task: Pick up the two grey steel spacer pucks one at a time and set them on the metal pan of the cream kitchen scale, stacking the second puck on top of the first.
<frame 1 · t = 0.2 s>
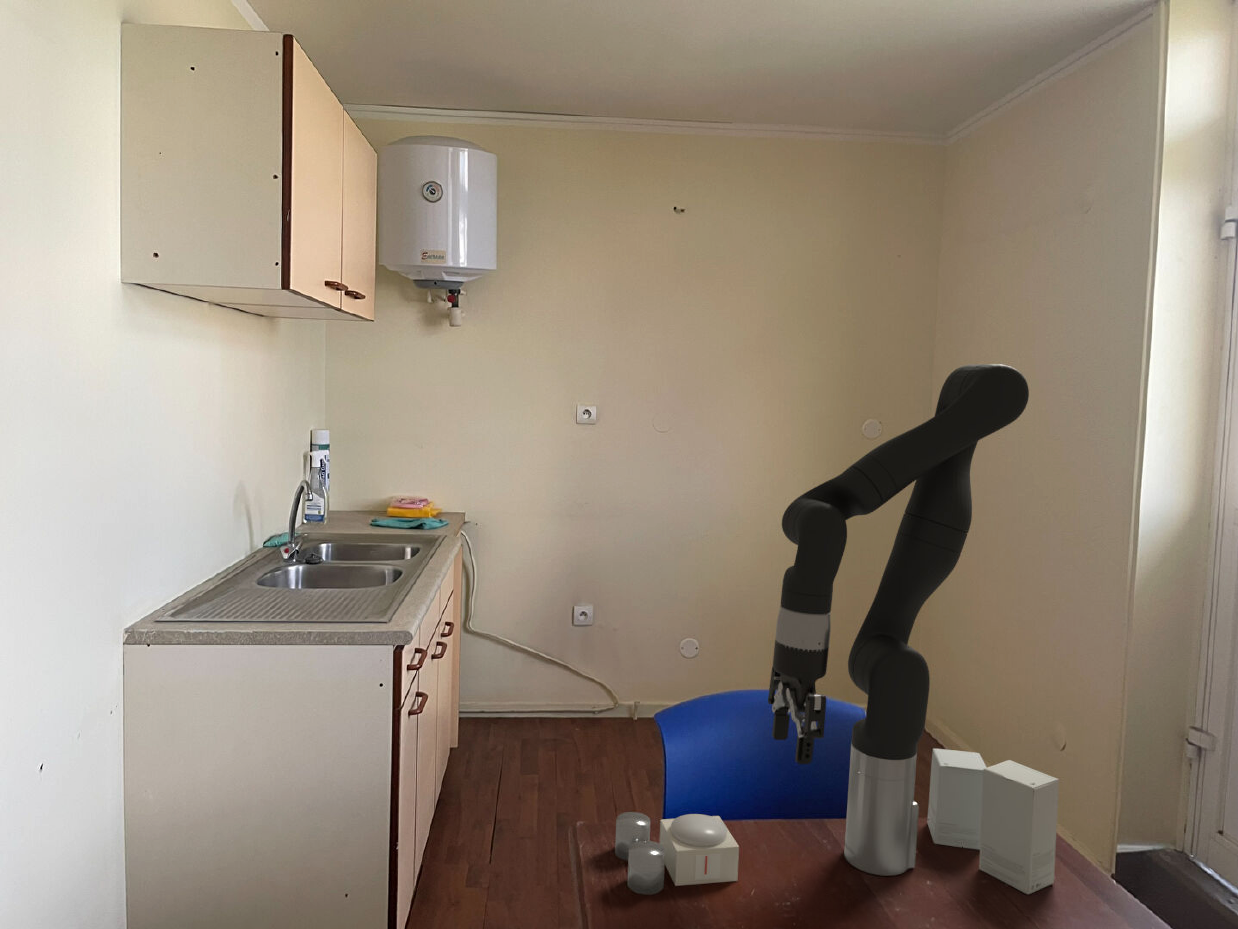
hand: (790, 750, 128), 17 cm above the table, tool pointing down, fingers open, 8 cm apart
steel spacer 2: (645, 884, 123), on the table
supplement box: (954, 837, 140), on the table
skincare box: (1013, 878, 129), on the table
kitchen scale: (697, 866, 128), on the table
steel spacer 1: (632, 852, 131), on the table
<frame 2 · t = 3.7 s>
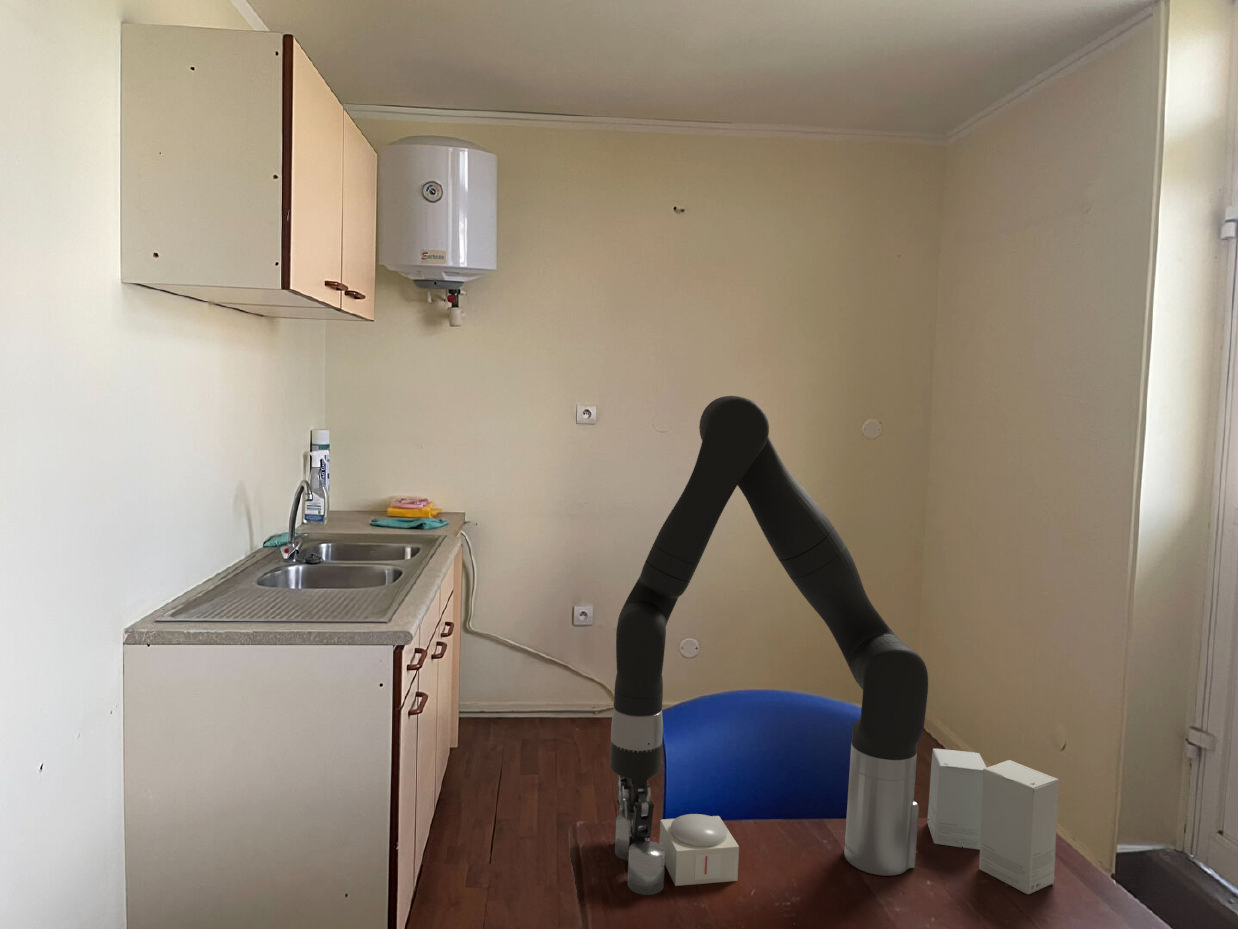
hand: (631, 849, 131), 0 cm above the table, tool pointing down, fingers closed on steel spacer 1, 5 cm apart
steel spacer 1: (631, 852, 131), on the table, touching gripper
everything else where it was.
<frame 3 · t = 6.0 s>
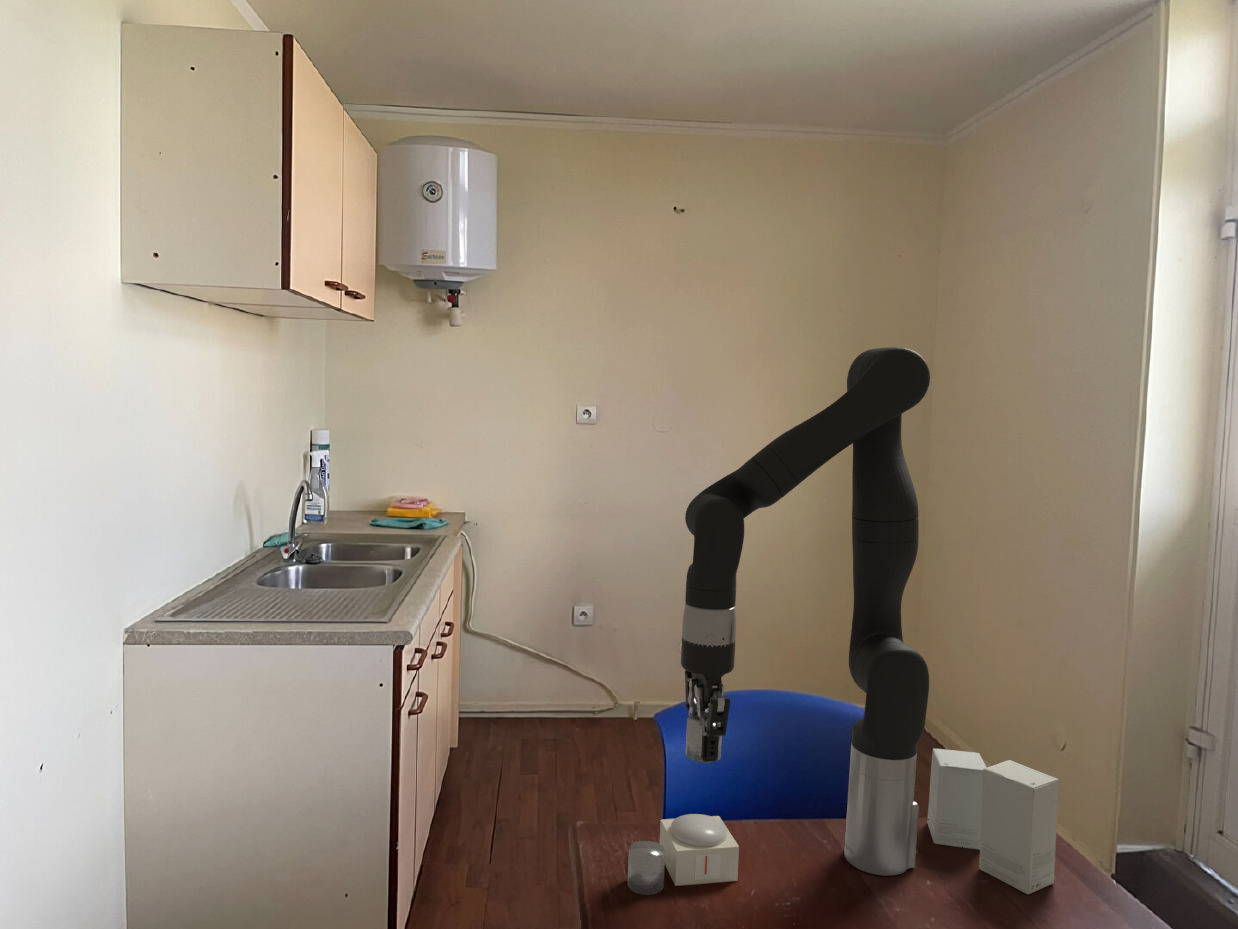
hand: (703, 751, 127), 17 cm above the table, tool pointing down, fingers closed on steel spacer 1, 5 cm apart
steel spacer 1: (703, 755, 127), point 17 cm above the table, touching gripper
everything else where it was.
when the fingers open (7 cm above the table, at t = 8.6 s): steel spacer 1 drops 1 cm, resting on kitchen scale.
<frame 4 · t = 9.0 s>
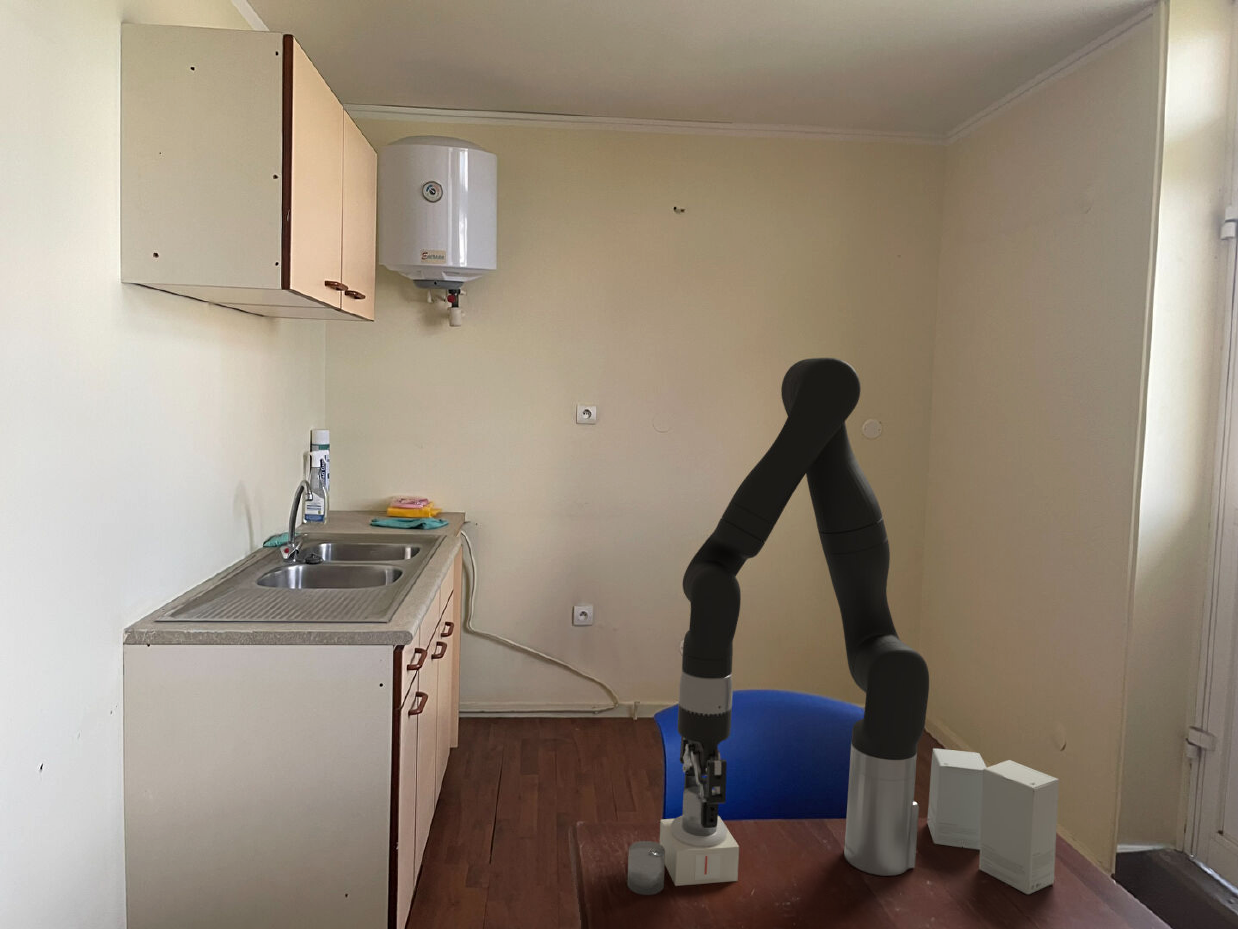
hand: (699, 812, 128), 8 cm above the table, tool pointing down, fingers open, 8 cm apart
steel spacer 1: (699, 827, 128), point 6 cm above the table, touching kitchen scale
everything else where it was.
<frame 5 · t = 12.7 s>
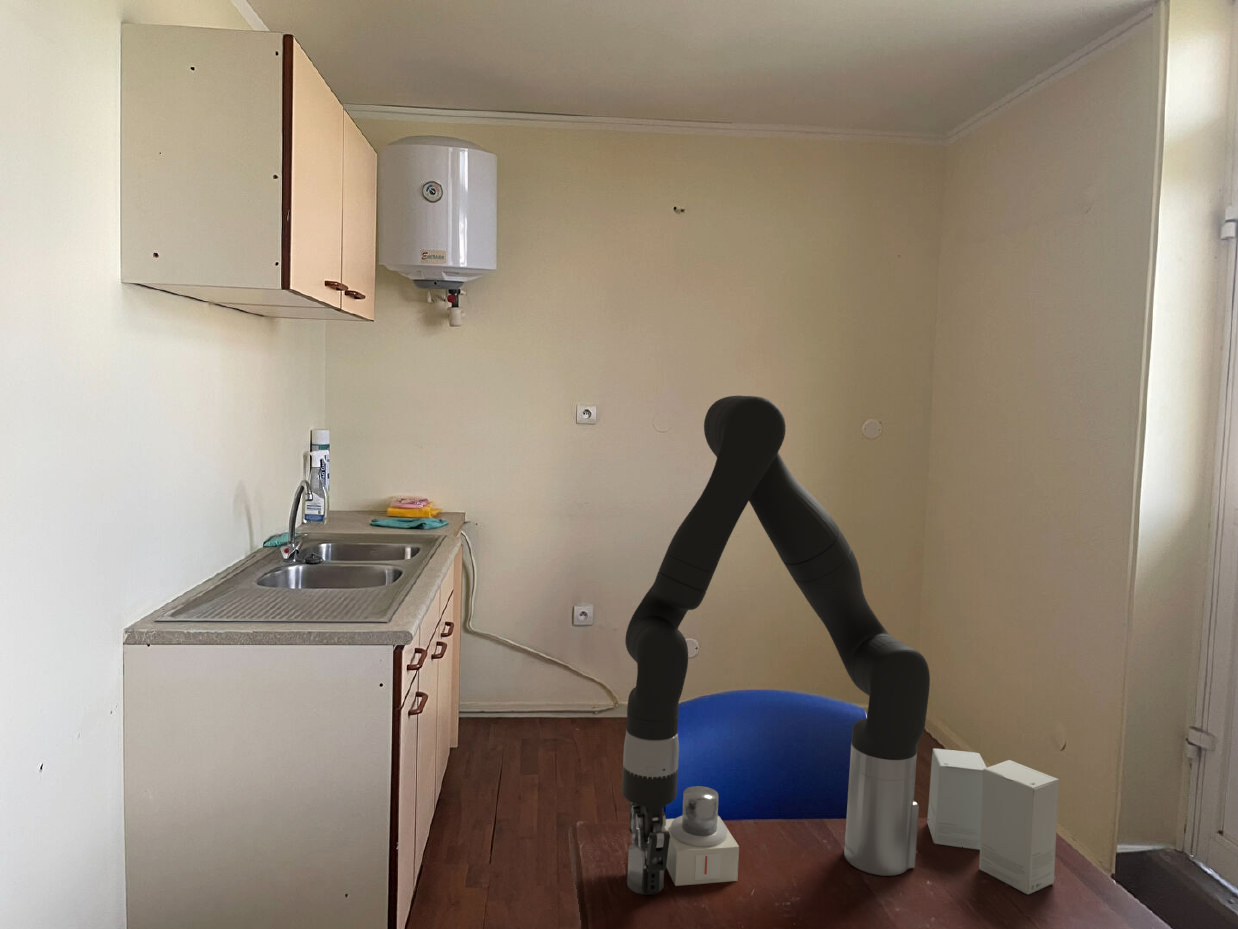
hand: (645, 881, 123), 0 cm above the table, tool pointing down, fingers closed on steel spacer 2, 5 cm apart
steel spacer 2: (645, 884, 123), on the table, touching gripper
everything else where it was.
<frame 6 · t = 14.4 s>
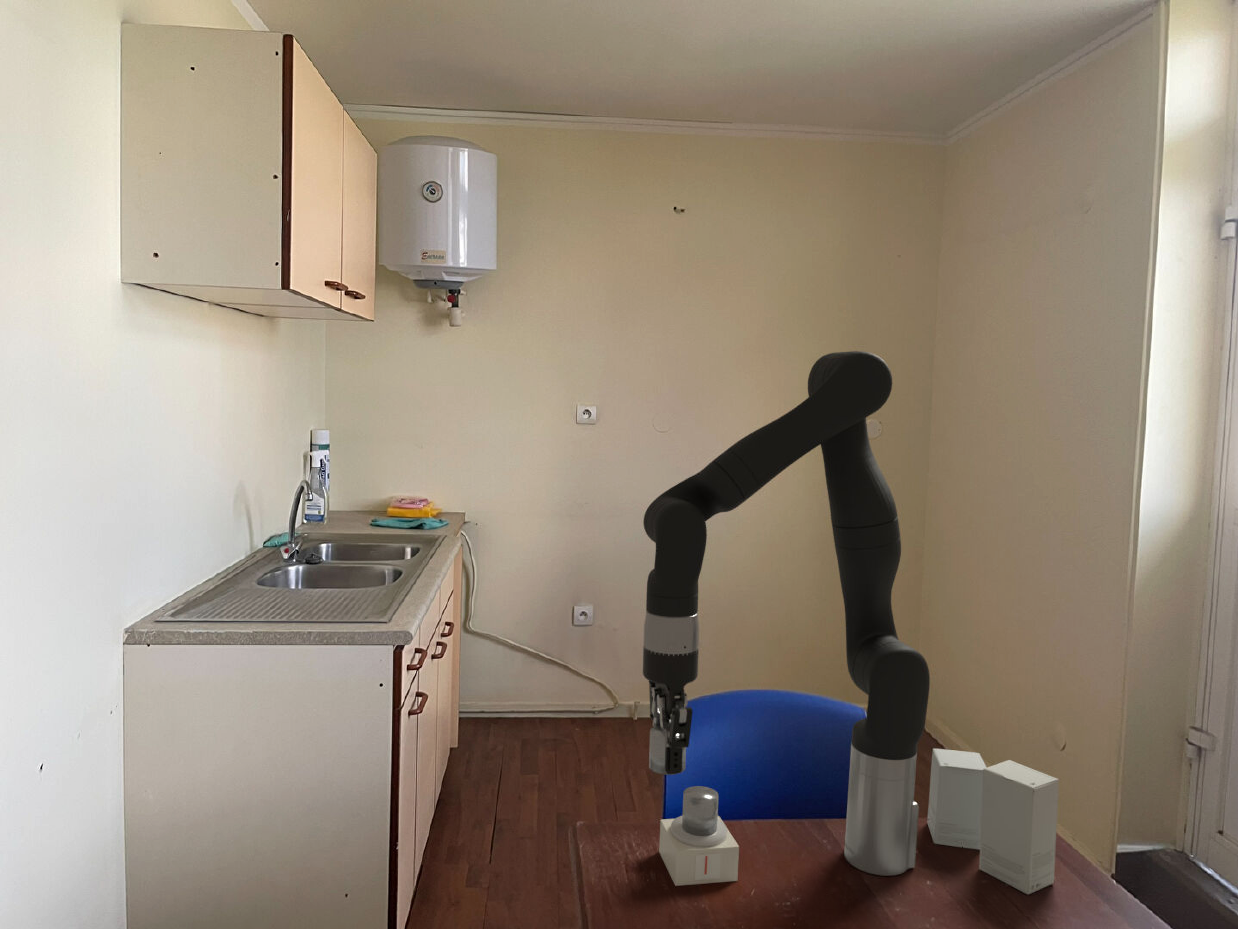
hand: (667, 763, 123), 17 cm above the table, tool pointing down, fingers closed on steel spacer 2, 5 cm apart
steel spacer 2: (667, 767, 123), point 16 cm above the table, touching gripper
everything else where it was.
when the fingers open (12 cm above the table, at t = 16.4 s): steel spacer 2 drops 1 cm, resting on steel spacer 1.
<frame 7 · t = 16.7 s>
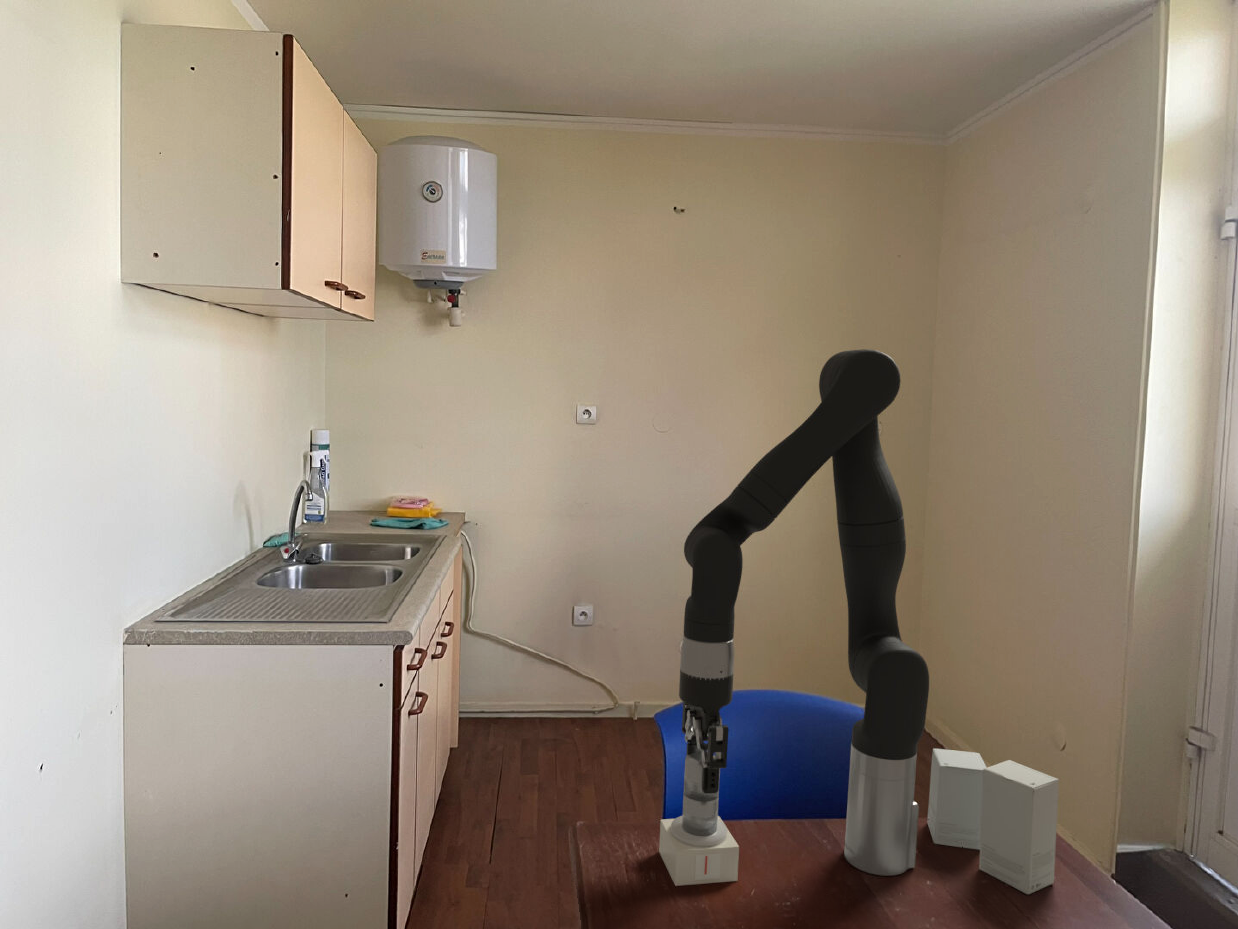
hand: (701, 779, 127), 13 cm above the table, tool pointing down, fingers open, 7 cm apart
steel spacer 2: (701, 793, 127), point 11 cm above the table, touching steel spacer 1
steel spacer 1: (699, 827, 128), point 6 cm above the table, touching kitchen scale, steel spacer 2
everything else where it was.
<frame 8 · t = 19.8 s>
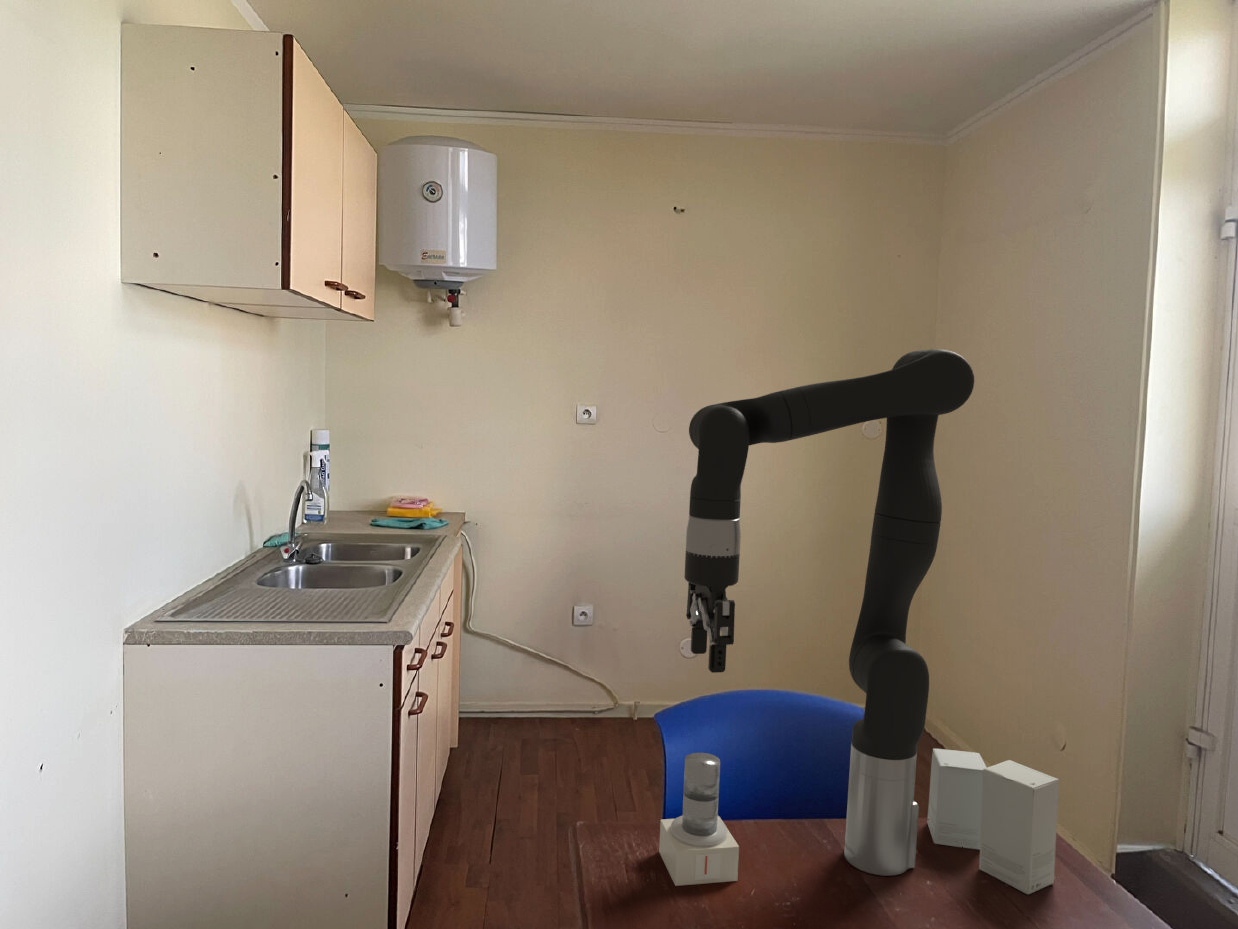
hand: (707, 662, 126), 30 cm above the table, tool pointing down, fingers open, 8 cm apart
nothing on the table moved.
at the end: steel spacer 1 0.1 cm off-centre on the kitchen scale, point 5.8 cm above the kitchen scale's base; steel spacer 2 0.1 cm off-centre on the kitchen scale, point 10.8 cm above the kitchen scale's base; steel spacer 2 tilted 0° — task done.
